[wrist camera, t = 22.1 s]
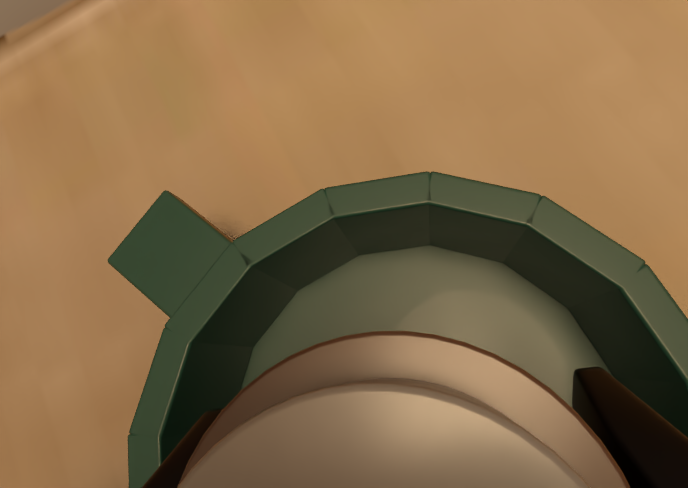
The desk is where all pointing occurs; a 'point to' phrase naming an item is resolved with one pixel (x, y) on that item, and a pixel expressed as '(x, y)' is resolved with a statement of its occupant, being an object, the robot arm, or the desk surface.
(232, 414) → the pepper mill
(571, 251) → the pot
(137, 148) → the desk surface
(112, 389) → the desk surface
